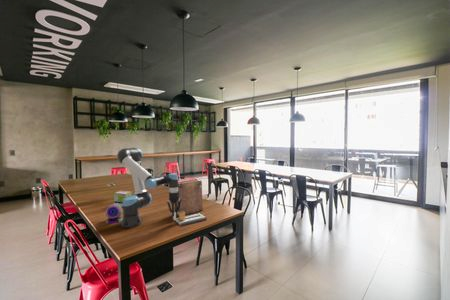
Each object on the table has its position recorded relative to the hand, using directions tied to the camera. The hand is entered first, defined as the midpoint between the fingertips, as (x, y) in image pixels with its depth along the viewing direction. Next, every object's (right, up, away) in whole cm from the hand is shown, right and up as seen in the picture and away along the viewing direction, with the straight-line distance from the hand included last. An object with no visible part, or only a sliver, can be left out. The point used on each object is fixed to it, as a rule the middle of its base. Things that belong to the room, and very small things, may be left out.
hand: (174, 219), depth 180 cm
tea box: (-68, -2, +53) cm, 87 cm away
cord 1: (+7, -3, +15) cm, 17 cm away
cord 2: (+16, -3, +2) cm, 17 cm away
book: (+7, -2, +28) cm, 29 cm away
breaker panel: (+12, -3, +8) cm, 15 cm away
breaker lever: (+5, -1, +4) cm, 7 cm away
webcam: (-55, -4, +9) cm, 56 cm away
